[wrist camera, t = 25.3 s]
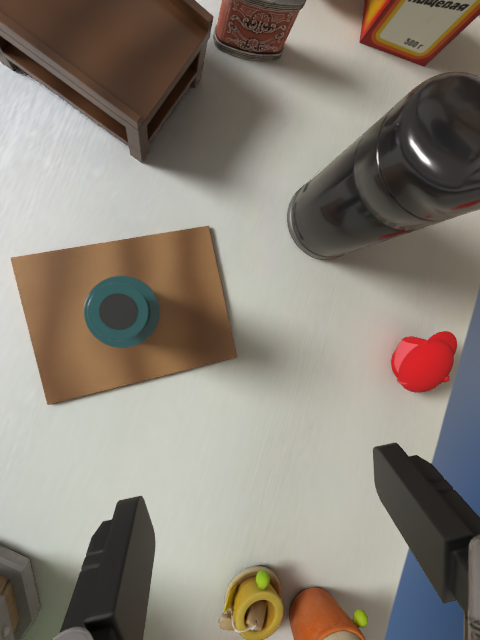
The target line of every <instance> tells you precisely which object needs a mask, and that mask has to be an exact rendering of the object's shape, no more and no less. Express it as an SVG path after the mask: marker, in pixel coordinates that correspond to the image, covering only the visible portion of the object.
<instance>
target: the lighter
mask: <svg viewBox="0 0 480 640" xmlns="http://www.w3.org/2000/svg"><path fill="white" fill-rule="evenodd" d="M305 2H306V0H222V3H221V8H220V13H219V18H218V23H217V25H216V26H215V30H214V35H213V40H214V44H215V46H216V47H217V48H218V49H219V50H221V51H223V52H226V53H228V54H231V55H234V56H237V57H241V58H245V59H250V60H259V61H274V60H277V59H278V58H280V56H281V54H282V51H283V49H284V43H285V41H286V39H287V37H288V35H289V33H290V30H291V28H292V26H293V24H294V22H295V19H296V17H297V15H298V13H299V11H300V10H301V9H302V8H303V6H304V4H305Z"/></svg>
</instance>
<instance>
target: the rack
mask: <svg viewBox="0 0 480 640" xmlns="http://www.w3.org/2000/svg"><path fill="white" fill-rule="evenodd" d="M212 22H213V16H212V15H211V14H210V13H209V12H208V11H206V10H205V9H204V8H203V7H202V6H201V5H199V4H198V3H197V2H196V1H195V0H0V61H1V62H2V63H3V64H4V65H6V66H7V67H9V68H10V69H11V70H13V71H14V70H15V69H16V68H17V66H18V67H19V68H20V69H22V70H23V71H25V72H26V73H27V74H29V75H30V76H32V77H33V78H34V79H36V80H37V81H38V82H40V83H41V84H43V85H44V86H45V87H47V88H48V89H50V90H51V91H52V92H54V93H55V94H57V95H58V96H59V97H61V98H62V99H63V100H65V101H66V102H68V103H69V104H70V105H72V106H73V107H75V108H76V109H77V110H79V111H80V112H82V113H83V114H84V115H86V116H87V117H88V118H90V119H91V120H93V121H94V122H95V123H97V124H98V125H100V126H101V127H102V128H104V129H105V130H107V131H108V132H109V133H111V134H112V135H113V136H115V137H116V138H118V139H119V140H120V141H122V142H123V143H125V144H126V145H127V146H129V149H130V155H131V156H133V157H134V158H136V159H137V160H138V161H140V162H141V163H142V162H143V160H144V159H145V158H146V156H147V155H148V153H149V147H148V144H149V143H150V142H151V140H152V139H153V137H154V136H155V135H156V133H157V132H158V130H159V129H160V127H161V126H162V125H163V123H164V122H165V120H166V119H167V118H168V116H169V115H170V113H171V112H172V110H173V109H174V108H175V106H176V105H177V103H178V102H179V100H180V99H181V98H182V96H183V95H184V93H185V92H186V91H187V89H188V88H189V86H190V85H192V86H193V87H195V86H196V85H197V83H198V82H199V80H200V79H201V75H202V69H203V64H204V58H205V52H206V46H207V41H208V39H209V38H210V32H211V27H212Z"/></svg>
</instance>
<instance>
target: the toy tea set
mask: <svg viewBox="0 0 480 640" xmlns="http://www.w3.org/2000/svg"><path fill="white" fill-rule="evenodd" d="M281 594H282V590H281V585H280V582H279V580H278V578H277V576H276V575H275V573H274V572H273V571H272V570H270V569H268V568H266V567H262V566H253V567H249V568H246V569H244V570H243V571H241V572H239V573H238V574H237V575H236V576H235V577H234V578H233V579H232V581H231V582H230V584H229V586H228V588H227V591H226V595H225V608H224V611H223V613H224V612H225V611H227V613H228V614H222V615H221V616H220V618H219V625H220V628H222V629H224V630H233V631H236V632H238V633H239V634H240V635H241V636H242V637H243V638H245V639H246V640H264V639H266V638H268V637H269V636H271V635H272V634H273V633H274V632H275V631H276V630H277V629H278V627H279V626H280V624H281V621H282V618H283V614H284V608H283V603H282V601H281ZM289 620H290V625H291V629H292V633H293V637H294V640H366V639H365V637H364V635H363V634H362V632H361V631H360V629H359V627H365V626H366V625H367V623H368V616H367V614H366V613H365V612H364V611H363V610H361V609H358V610H356V611H355V613H354V618H353V620H351V619H350V618H349V617H348V615H347V614H346V613H345V612H344V611H343V610H342V608H341V607H340V606H339V605H338V604H337V603H336V601H335V600H334V599H333V598H332V597H331V595H330V594H329V593H328V592H326V591H325V590H323V589H321V588H317V587H313V588H308V589H306V590H304V591H302V592H301V593H300V594H298V595H297V597H296V598H295V599H294V601H293V603H292V605H291V607H290V612H289Z"/></svg>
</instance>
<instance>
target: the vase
mask: <svg viewBox="0 0 480 640" xmlns="http://www.w3.org/2000/svg"><path fill="white" fill-rule="evenodd" d="M159 316H160V308H159V303H158V300H157V298H156V295H155V294H154V292H153V291H152V290H151V288H150V287H149V286H148V285H146V284H145V283H144V282H142V281H140V280H138V279H136V278H133V277H129V276H114V277H110V278H107V279H105V280H103V281H101V282H100V283H98V284H97V285H96V286H95V287H94V288H93V289H92V290H91V291H90V293H89V295H88V296H87V299H86V301H85V305H84V318H85V322H86V325H87V327H88V329H89V330H90V332H91V333H92V334H93V336H94V337H95V338H97V339H98V340H99V341H101V342H102V343H104V344H106V345H109V346H112V347H116V348H128V347H132V346H136V345H138V344H140V343H142V342H144V341H145V340H146V339H148V338H149V337H150V336H151V334H152V333H153V332H154V330H155V329H156V327H157V324H158V321H159Z"/></svg>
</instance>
